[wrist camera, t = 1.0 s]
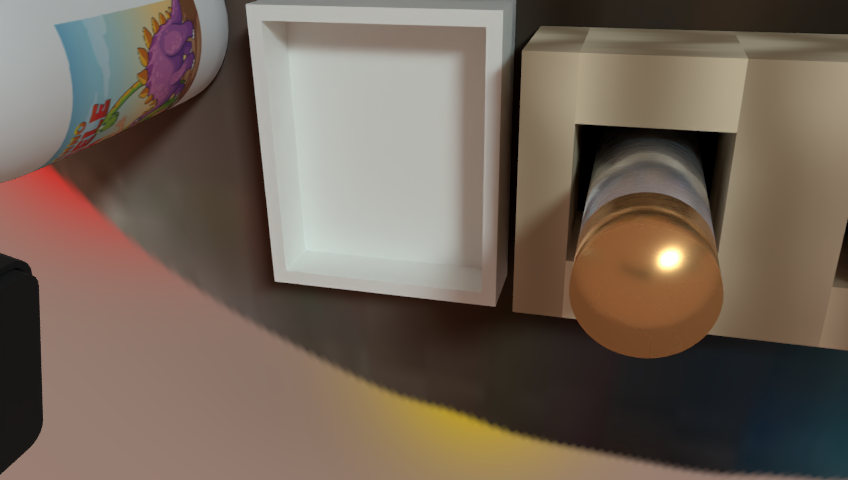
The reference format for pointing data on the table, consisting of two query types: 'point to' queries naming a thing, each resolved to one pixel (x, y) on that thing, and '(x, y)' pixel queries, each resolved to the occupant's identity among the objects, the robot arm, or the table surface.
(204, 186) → the table surface
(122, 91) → the milk bottle
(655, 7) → the table surface
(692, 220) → the pin
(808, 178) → the socket block
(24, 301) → the robot arm
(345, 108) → the tray
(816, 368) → the table surface
